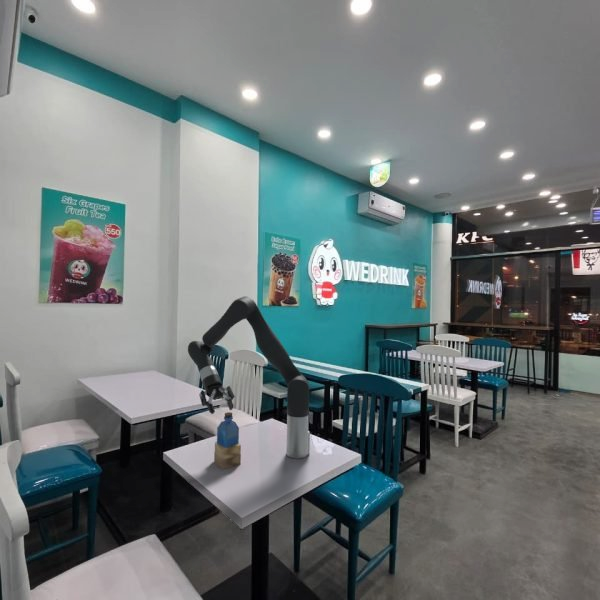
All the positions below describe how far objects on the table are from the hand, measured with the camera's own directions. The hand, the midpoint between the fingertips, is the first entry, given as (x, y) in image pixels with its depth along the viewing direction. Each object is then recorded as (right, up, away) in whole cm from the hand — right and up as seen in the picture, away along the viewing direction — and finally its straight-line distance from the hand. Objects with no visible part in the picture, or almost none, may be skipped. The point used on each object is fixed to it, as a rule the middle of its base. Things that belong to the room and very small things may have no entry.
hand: (222, 411), depth 140 cm
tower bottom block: (+3, -20, -4) cm, 20 cm away
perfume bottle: (+3, -12, -3) cm, 13 cm away
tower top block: (+3, -16, -4) cm, 17 cm away
